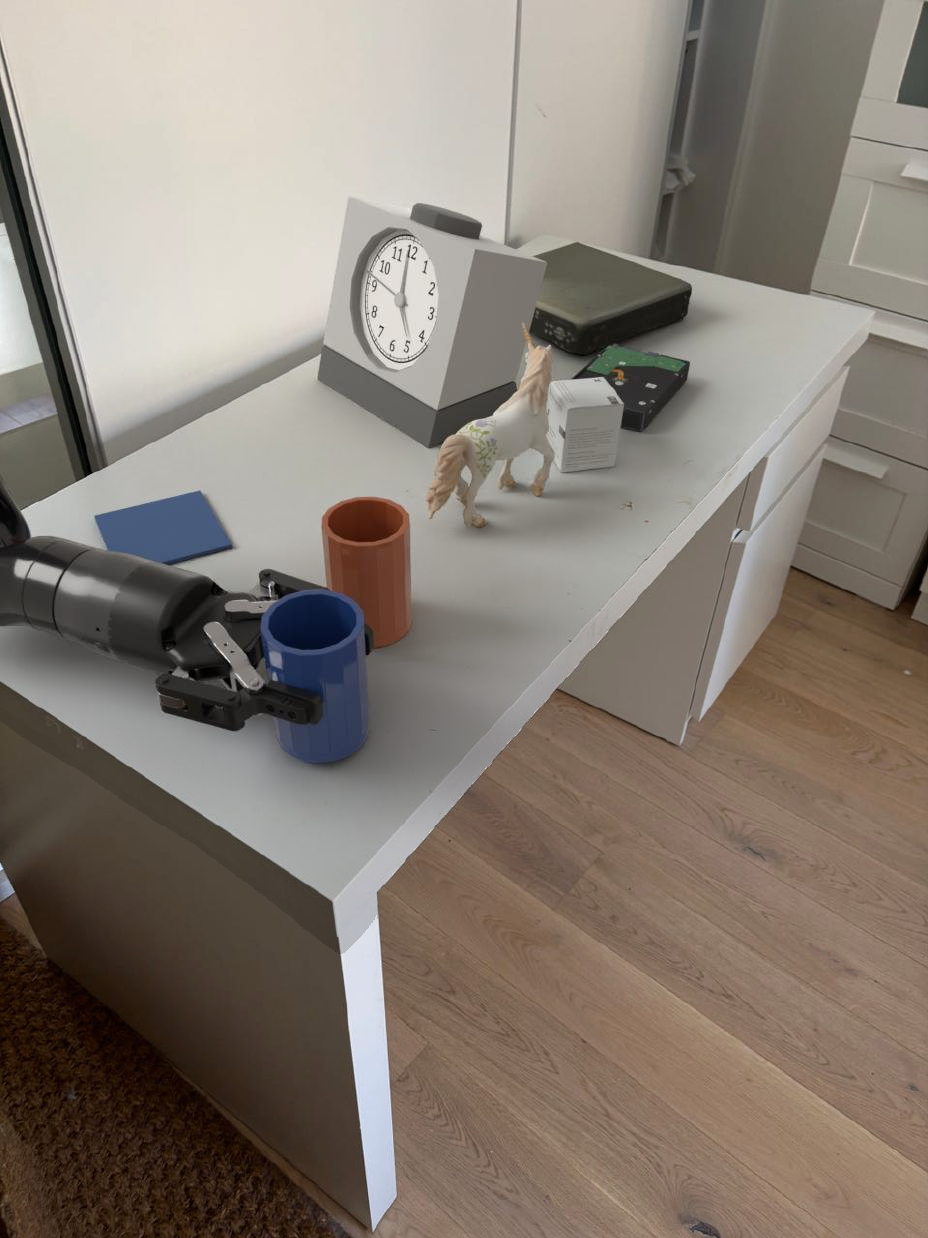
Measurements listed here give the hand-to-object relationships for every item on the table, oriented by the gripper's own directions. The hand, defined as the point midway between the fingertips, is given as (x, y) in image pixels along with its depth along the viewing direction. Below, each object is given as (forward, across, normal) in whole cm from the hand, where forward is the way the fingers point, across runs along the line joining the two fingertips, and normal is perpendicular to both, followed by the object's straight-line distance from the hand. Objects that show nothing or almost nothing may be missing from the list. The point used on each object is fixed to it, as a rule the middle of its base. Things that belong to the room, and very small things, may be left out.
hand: (346, 675), depth 64 cm
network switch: (-8, +81, +6) cm, 81 cm away
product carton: (+3, +45, +7) cm, 46 cm away
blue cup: (-2, 0, +6) cm, 6 cm away
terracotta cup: (-5, +13, +7) cm, 15 cm away
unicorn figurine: (-4, +36, +7) cm, 36 cm away
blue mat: (-28, +16, +7) cm, 33 cm away
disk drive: (+4, +60, +6) cm, 61 cm away
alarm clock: (-17, +52, +7) cm, 55 cm away
